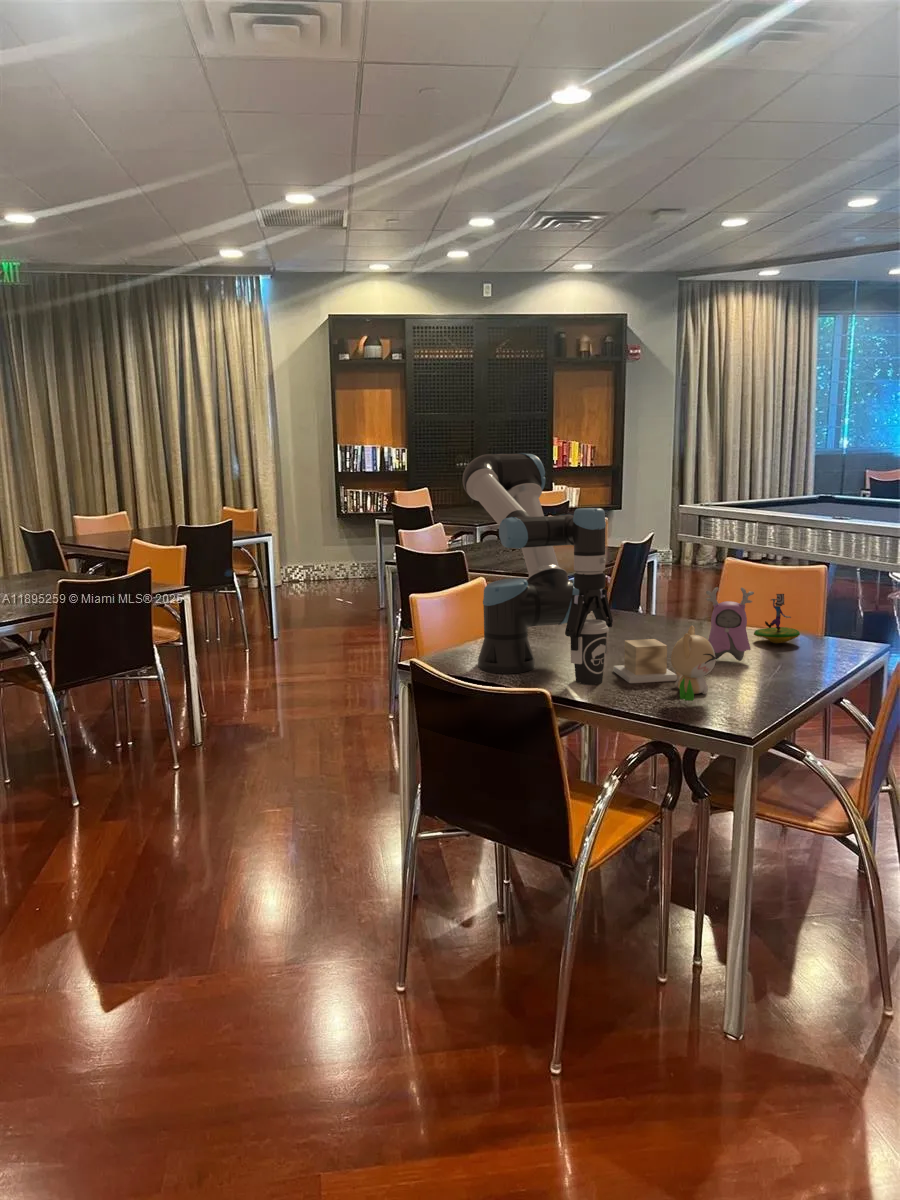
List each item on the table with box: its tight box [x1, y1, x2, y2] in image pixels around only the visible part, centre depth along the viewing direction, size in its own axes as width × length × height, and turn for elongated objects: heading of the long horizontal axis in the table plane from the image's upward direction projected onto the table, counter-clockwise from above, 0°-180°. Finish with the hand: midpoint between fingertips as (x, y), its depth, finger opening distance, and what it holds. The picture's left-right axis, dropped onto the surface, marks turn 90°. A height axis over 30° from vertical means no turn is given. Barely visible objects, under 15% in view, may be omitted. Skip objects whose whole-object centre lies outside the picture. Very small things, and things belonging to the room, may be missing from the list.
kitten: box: [670, 625, 717, 702], centre depth 189 cm, size 15×10×15 cm
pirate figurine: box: [753, 593, 801, 644], centre depth 239 cm, size 14×13×15 cm
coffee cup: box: [573, 618, 610, 686], centre depth 201 cm, size 10×10×15 cm
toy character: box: [705, 586, 755, 662], centre depth 218 cm, size 12×10×20 cm
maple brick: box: [623, 638, 668, 675], centre depth 205 cm, size 8×8×7 cm
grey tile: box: [613, 664, 678, 684], centre depth 206 cm, size 12×12×2 cm
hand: (589, 658), depth 201 cm, fingers open, 13 cm apart
